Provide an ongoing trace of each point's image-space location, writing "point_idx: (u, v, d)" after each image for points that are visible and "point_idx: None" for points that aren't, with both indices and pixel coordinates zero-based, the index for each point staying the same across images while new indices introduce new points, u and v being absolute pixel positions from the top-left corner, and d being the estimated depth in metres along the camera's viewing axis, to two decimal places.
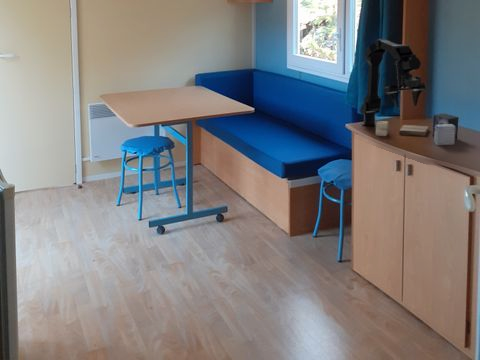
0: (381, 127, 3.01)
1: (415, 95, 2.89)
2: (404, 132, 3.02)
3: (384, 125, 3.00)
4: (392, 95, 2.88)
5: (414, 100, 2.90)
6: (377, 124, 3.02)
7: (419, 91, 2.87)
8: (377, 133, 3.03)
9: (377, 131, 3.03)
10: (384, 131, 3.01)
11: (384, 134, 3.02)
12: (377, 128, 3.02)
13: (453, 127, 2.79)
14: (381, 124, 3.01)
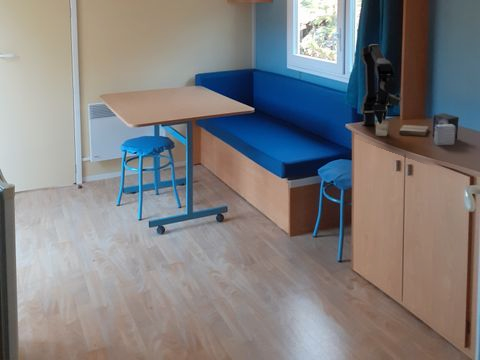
0: (381, 127, 3.01)
1: None
2: (404, 132, 3.02)
3: (384, 125, 3.00)
4: (377, 112, 2.96)
5: (383, 114, 3.06)
6: (377, 124, 3.02)
7: None
8: (377, 133, 3.03)
9: (377, 131, 3.03)
10: (384, 131, 3.01)
11: (384, 134, 3.02)
12: (377, 128, 3.02)
13: (453, 127, 2.79)
14: (381, 124, 3.01)
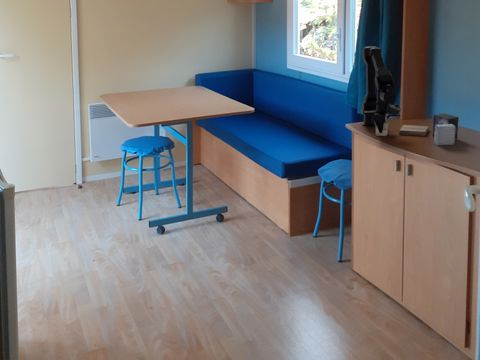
0: None
1: None
2: (404, 132, 3.02)
3: (384, 125, 3.00)
4: (378, 121, 2.99)
5: None
6: None
7: None
8: (377, 133, 3.03)
9: (377, 131, 3.03)
10: (384, 131, 3.01)
11: (384, 134, 3.02)
12: (377, 128, 3.02)
13: (453, 127, 2.79)
14: None
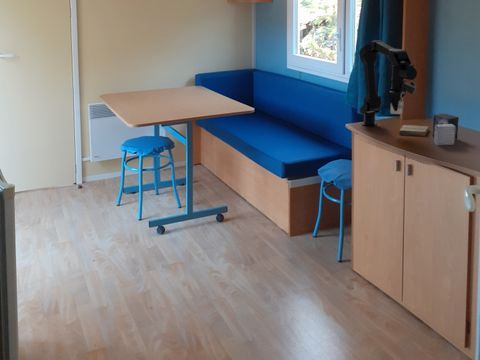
0: None
1: (399, 99, 3.03)
2: (404, 132, 3.02)
3: (399, 103, 2.98)
4: (393, 99, 2.97)
5: None
6: None
7: (404, 95, 3.02)
8: (392, 111, 3.00)
9: (391, 109, 3.00)
10: (399, 109, 2.98)
11: (399, 112, 2.99)
12: (392, 106, 3.00)
13: (453, 127, 2.79)
14: None
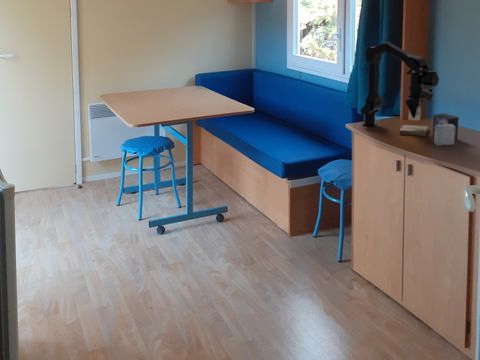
0: None
1: None
2: (404, 132, 3.02)
3: (417, 109, 3.00)
4: None
5: None
6: None
7: None
8: (410, 117, 3.02)
9: (409, 115, 3.02)
10: (417, 115, 3.01)
11: (417, 118, 3.01)
12: (410, 112, 3.02)
13: (453, 127, 2.79)
14: None
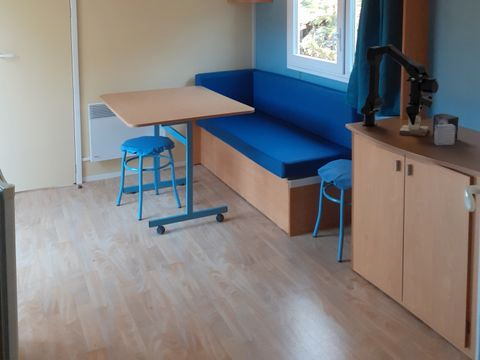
0: None
1: None
2: (404, 132, 3.02)
3: (417, 119, 3.01)
4: (410, 113, 2.99)
5: None
6: None
7: (421, 108, 3.07)
8: (409, 127, 3.04)
9: (409, 125, 3.04)
10: (417, 124, 3.02)
11: (417, 128, 3.03)
12: (410, 122, 3.03)
13: (453, 127, 2.79)
14: None
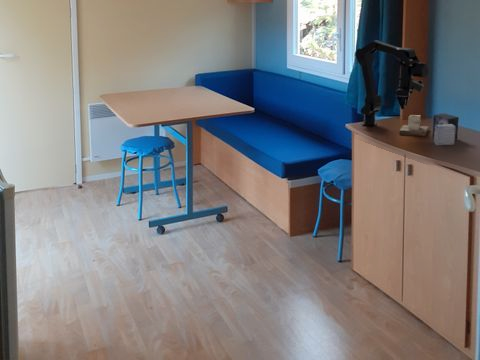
0: (414, 121, 3.02)
1: None
2: (404, 132, 3.02)
3: (417, 119, 3.01)
4: (400, 97, 3.00)
5: None
6: (410, 118, 3.03)
7: None
8: (409, 127, 3.04)
9: (409, 125, 3.04)
10: (417, 124, 3.02)
11: (417, 128, 3.03)
12: (410, 122, 3.03)
13: (453, 127, 2.79)
14: (414, 118, 3.02)
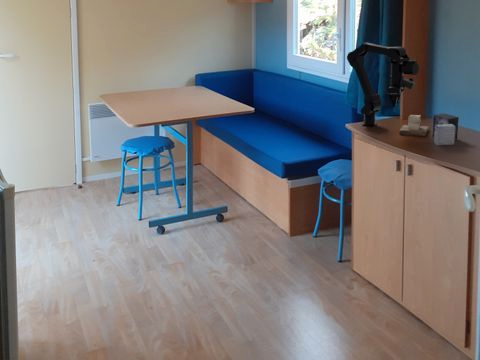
0: (414, 121, 3.02)
1: None
2: (404, 132, 3.02)
3: (417, 119, 3.01)
4: (392, 95, 3.04)
5: (397, 98, 3.14)
6: (410, 118, 3.03)
7: (403, 90, 3.13)
8: (409, 127, 3.04)
9: (409, 125, 3.04)
10: (417, 124, 3.02)
11: (417, 128, 3.03)
12: (410, 122, 3.03)
13: (453, 127, 2.79)
14: (414, 118, 3.02)
